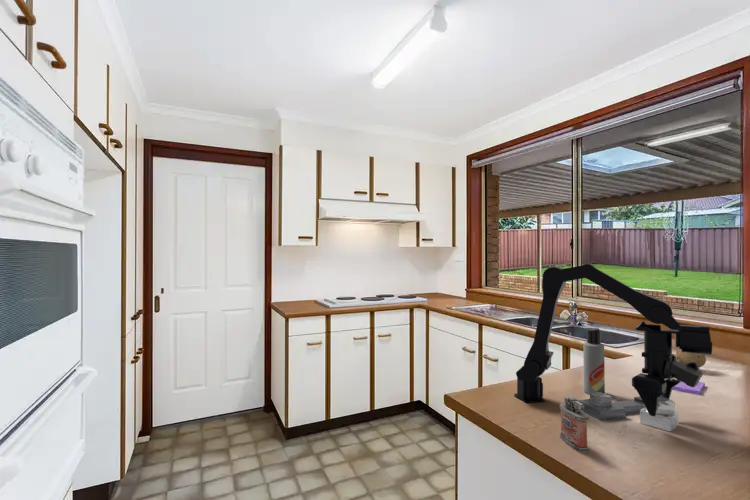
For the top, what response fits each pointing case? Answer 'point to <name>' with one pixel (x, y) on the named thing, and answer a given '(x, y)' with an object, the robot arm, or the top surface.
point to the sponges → (689, 388)
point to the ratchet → (610, 406)
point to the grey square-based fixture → (661, 415)
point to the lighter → (574, 424)
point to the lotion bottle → (594, 362)
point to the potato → (690, 358)
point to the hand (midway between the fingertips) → (658, 411)
